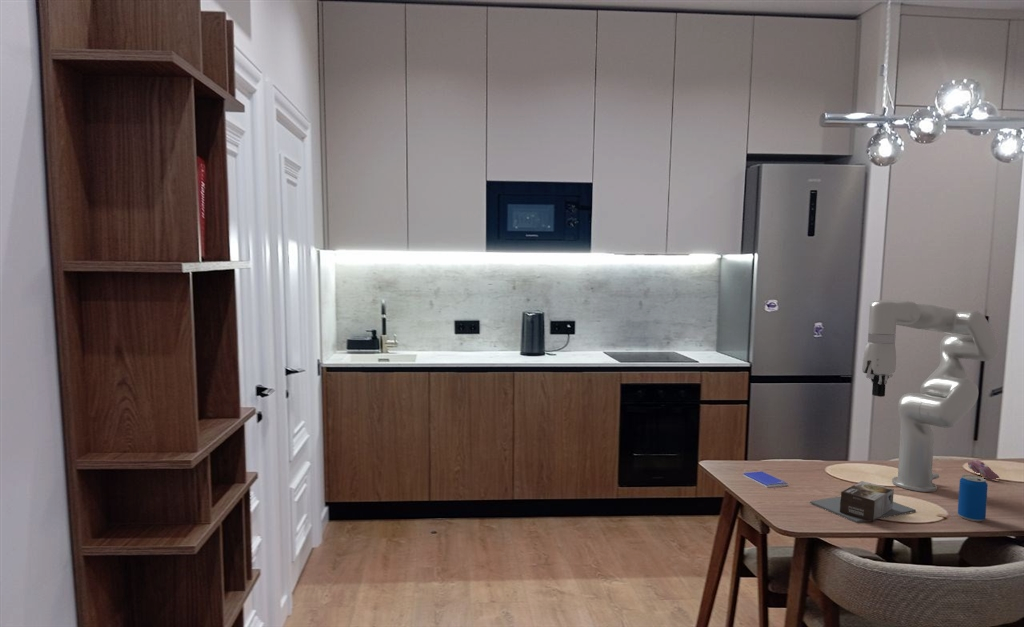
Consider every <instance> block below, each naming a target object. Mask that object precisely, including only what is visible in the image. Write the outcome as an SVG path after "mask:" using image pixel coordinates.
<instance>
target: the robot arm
mask: <svg viewBox="0 0 1024 627" xmlns="http://www.w3.org/2000/svg"><path fill="white" fill-rule="evenodd" d="M868 314H869V315H868V333H867V343H866V344H865V347H864V348H865V349H864V352H863V359H862V368H861V369H862V372H863V373H864V374H865V376H866V378H867V379H868V380H869V379H870V380H871V384H872V387H871V388H872V391H871V394H872V396H875V397H880V398H881V397H885V396H886V385H887V384H888V380H889V379H891V378H893V374H895V372H896V367H897V353H896V352H897V351H896V333H897V332H896V330H897V326H902V327H906V328H911V329H917V330H924V331H930V332H937V333H941V334H947V335H945V336H943V338H942V339H941V341H940V342H939V356H940V357H939V358H940V360H939V365H938V367H937V368H936V369H935V370H934V371H932V373H931V374H930V375H929V376H928V377H927V378H926V379H925V380H924V381H923V382H922V383H921V386H920V388H919V389H920V390H919V391H920V392H908V393H905V394H903V395H902V396H901V397H900V398H899V400H898V405H897V409H898V416H899V421H900V422H899V424H900V425H899V426H900V432H899V434H900V435H899V447H898V466H897V470H898V471H897V476H894V477H892V479H891V482H892V483H893V485H895V486H897V487H899V488H902V489H906V490H910V491H915V492H923V493H928V492H929V493H930V492H935V491H937V488H938V487H937V485H936V484H935V483H933V480H937V479H939V478H940V476H939V474H938V473H937V472H933V460H934V459H933V458H934V444H935V436H934V432H933V429H932V428H931V426H935V427H939V428H944V429H945V428H946V429H947V428H952V427H954V426H955V425H957V424H958V423H959V422H960V421H961V420H962V419H963V418H964V417H965V416H966V415H967V414H968V412H969V411H970V410H971V409H972V408H973V407H974V406H975V404H976V403H977V401H978V398H979V387H978V386H977V384H976V383H975V382H974V381H972V380H971V379H968V378H967V377H968V372H967V369H966V367H965V366H964V364H963V362H962V359H964V360H970V361H980V362H989V361H991V362H992V360H995V359H996V358H997V356H998V355H999V354H1000V344H999V342H998V339H997V337H996V335H995V333H994V331H993V329H992V327H991V325H990V323H989V320H987V318H986V317H985V315H984V314H983V313H981V312H980V311H977V310H973V309H972V310H971V309H955V308H949V307H942V306H937V305H932V304H921V303H919V304H918V303H915V302H914V301H909V300H889V299H879V300H876V301H875V300H874V301H872V302H871V303H870V305H869V313H868ZM930 425H931V426H930Z"/></svg>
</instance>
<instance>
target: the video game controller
mask: <svg viewBox="0 0 1024 627" xmlns="http://www.w3.org/2000/svg"><path fill="white" fill-rule="evenodd" d="M967 464H968V469H970V470H972V471H973V472H974V473H975V472H976V473H980V475H981V476H983V477H987V478H988V479H989V478H990V479H989V480H991V479H996V478H1000V476H999V475H998V474H997V473H995V472H994V470H992V469H991V467H989V466H988V465H987V464H986V463H984V462H983V461H981V460H976V459H974V460H970V461H968V462H967ZM981 476H980V477H981Z"/></svg>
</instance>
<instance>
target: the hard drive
mask: <svg viewBox="0 0 1024 627" xmlns="http://www.w3.org/2000/svg"><path fill="white" fill-rule="evenodd" d="M742 475H743V477H745V478H747V479H749V480H751V481H754V482H756V483H757V484H759V485H761V486H763V487H765V488H777V487H786V486H788V482H786V481H784V480H781V479H779V478H776V477H775V476H772V475H770V474H769V473H767V472H764V471H752V472H751V471H750V472H744V473H743V474H742Z"/></svg>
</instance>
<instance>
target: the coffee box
mask: <svg viewBox="0 0 1024 627" xmlns="http://www.w3.org/2000/svg"><path fill="white" fill-rule="evenodd" d="M894 493H895V491H894V488H891V487H887V486H883V485H878V484H875V483H872V482H868V481H865V480H860V481H859V482H857V483H855V484H854V485H852V486H850V487H848V488H846V489H844V490H842V491H841V492H840V496H841V500H840V512H841V513H844V514H848V515H851V516H855V517H858V518H862V519H865V520H869V522H874V521H875V520H878V519H877V518H878V517H880V516H881V515H883V514H885V513H886V512H888V511H889V510H891V509H892V507H893V502H894Z"/></svg>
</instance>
